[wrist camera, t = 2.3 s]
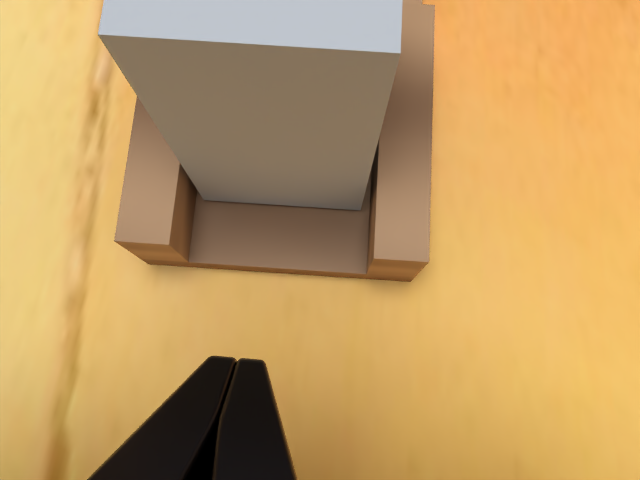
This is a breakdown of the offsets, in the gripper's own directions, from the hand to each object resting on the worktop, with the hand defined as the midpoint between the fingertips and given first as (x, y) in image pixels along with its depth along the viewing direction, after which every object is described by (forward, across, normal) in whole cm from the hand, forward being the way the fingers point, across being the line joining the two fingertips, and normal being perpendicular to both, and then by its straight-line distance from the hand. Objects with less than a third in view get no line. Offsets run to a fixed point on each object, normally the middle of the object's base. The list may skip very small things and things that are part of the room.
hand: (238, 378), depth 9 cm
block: (+12, 0, 0) cm, 12 cm away
